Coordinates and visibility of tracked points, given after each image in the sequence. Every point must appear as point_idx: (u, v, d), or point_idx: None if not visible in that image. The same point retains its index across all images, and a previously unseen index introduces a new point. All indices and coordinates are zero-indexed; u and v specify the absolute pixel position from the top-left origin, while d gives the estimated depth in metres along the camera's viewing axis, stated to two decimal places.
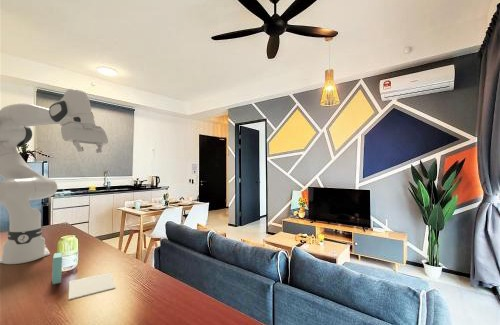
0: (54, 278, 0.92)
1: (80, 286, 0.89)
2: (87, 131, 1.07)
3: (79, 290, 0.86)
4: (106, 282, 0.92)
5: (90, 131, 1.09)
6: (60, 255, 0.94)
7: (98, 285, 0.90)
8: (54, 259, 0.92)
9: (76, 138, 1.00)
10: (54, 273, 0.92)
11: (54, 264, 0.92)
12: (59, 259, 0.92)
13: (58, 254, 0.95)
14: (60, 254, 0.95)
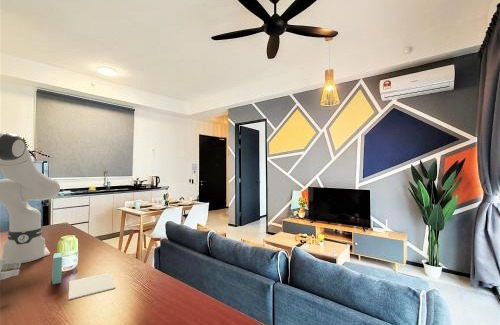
0: (54, 278, 0.92)
1: (80, 286, 0.89)
2: None
3: (79, 290, 0.86)
4: (106, 282, 0.92)
5: None
6: (60, 255, 0.94)
7: (98, 285, 0.90)
8: (54, 259, 0.92)
9: None
10: (54, 273, 0.92)
11: (54, 264, 0.92)
12: (59, 259, 0.92)
13: (58, 254, 0.95)
14: (60, 254, 0.95)
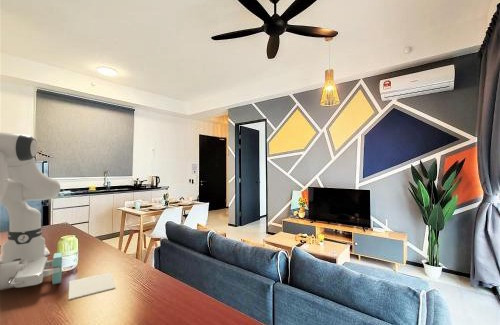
0: (54, 278, 0.92)
1: (80, 286, 0.89)
2: None
3: (79, 290, 0.86)
4: (106, 282, 0.92)
5: None
6: (60, 255, 0.94)
7: (98, 285, 0.90)
8: (54, 259, 0.92)
9: None
10: (54, 273, 0.92)
11: (54, 264, 0.92)
12: (59, 259, 0.92)
13: (58, 254, 0.95)
14: (60, 254, 0.95)
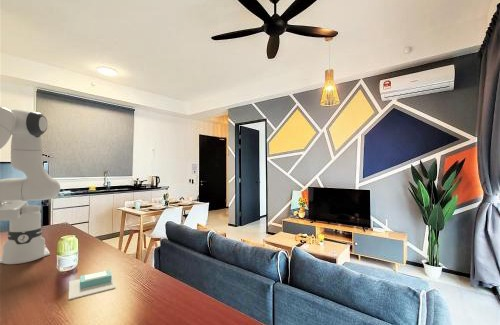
0: (87, 282, 0.89)
1: None
2: None
3: (79, 290, 0.86)
4: None
5: None
6: None
7: (98, 285, 0.90)
8: (109, 276, 0.93)
9: None
10: (93, 280, 0.90)
11: (104, 278, 0.92)
12: (108, 280, 0.93)
13: None
14: None
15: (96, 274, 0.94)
